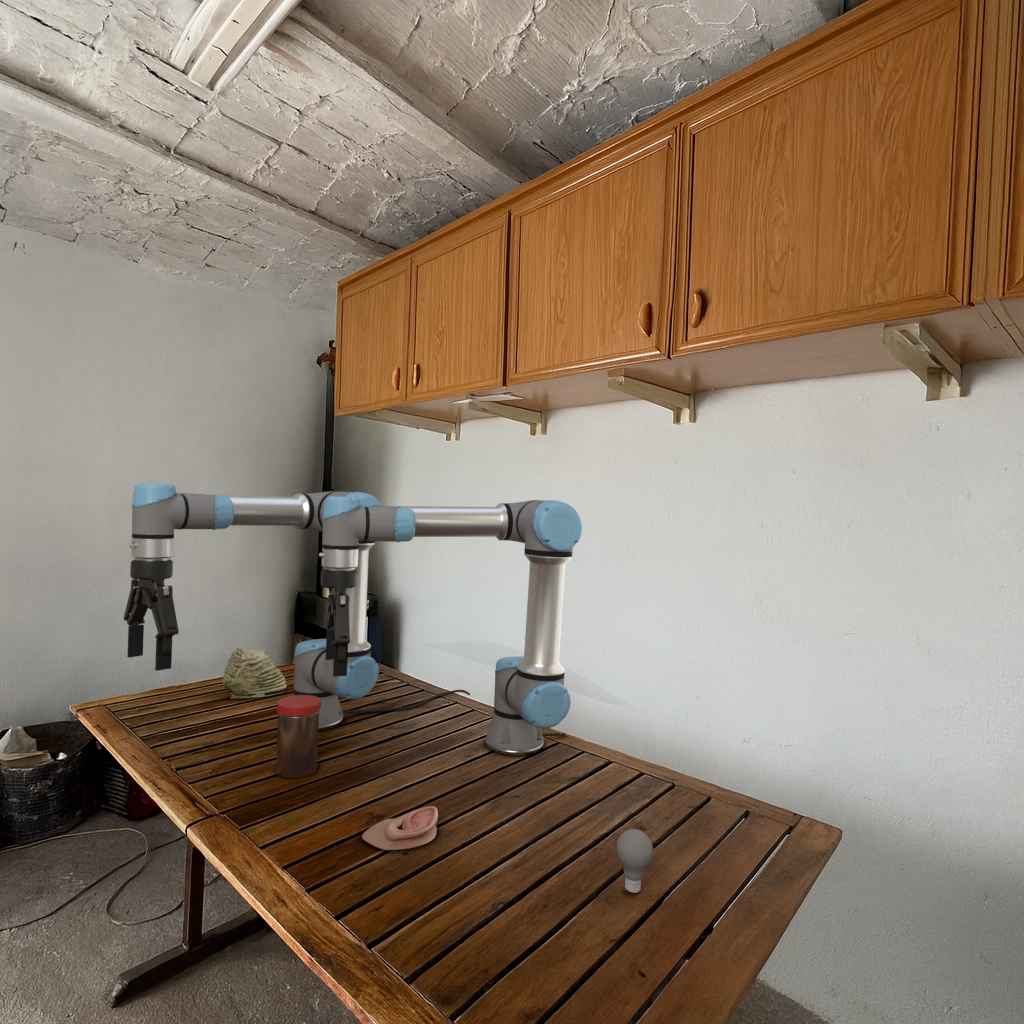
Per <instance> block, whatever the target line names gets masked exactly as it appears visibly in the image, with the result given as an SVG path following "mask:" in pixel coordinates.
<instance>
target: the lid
mask: <svg viewBox="0 0 1024 1024" xmlns="http://www.w3.org/2000/svg"><path fill="white" fill-rule="evenodd" d="M276 704H277V705H276V712H277V714H278V713H279V714H281V715H284V716H291V717H299V716H307V715H311V714H314V713H316V712H318V711H319V710H320V708H321V700H320V698H318V697H316V696H311V695H294V694H293V695H288V696H285V697H282V698H280V699H278V700H277V703H276Z"/></svg>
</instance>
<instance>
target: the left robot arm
mask: <svg viewBox="0 0 1024 1024" xmlns="http://www.w3.org/2000/svg"><path fill="white" fill-rule="evenodd" d="M330 496H337V497H357V498H359V499H360V504H361V506H364V507H370V506H372V505H380V506H383V505H382V503H381V502H380V501H379V500H378V498H377V497H375V495H373V494H370V493H367V492H363V491H362V492H361V491H337V490H336V491H335V490H333V491H332V490H330V491H321V492H311V493H295V494H294V495H293V496H276V495H275V496H274V495H273V496H272V495H248V494H247V495H246V494H244V495H243V494H220V493H219V494H218V493H217V494H216V493H215V494H214V493H189V492H187V493H186V492H177V491H176V486H175V485H174V484H173V483H152V482H139V483H137V484H136V485H135V486H134V488H133V492H132V501H131V520H132V521H131V542H130V543H128V547H129V548H130V549H131V550H130V556H131V558H133V559H132V560H131V561H130V567H129V568H130V571H129V574H130V575H129V576H130V578H131V581H130V590H129V594H128V598H127V603H126V607H125V610H124V615H123V621H124V622H126V624H127V626H128V629H127V630H128V631H127V658H135V657H142V656H144V635H145V634H144V630H145V625H144V624H145V623H146V621H145V619H144V618H145V616H146V615H147V612H148V609H149V610H151V613H152V618H153V620H154V624H155V627H156V631H157V633H156V635H155V636H154V638H155V661H154V663H155V665H154V668H155V669H154V670H155V671H157V672H159V671H164V670H169V669H172V659H173V657H172V655H173V637H175V636H176V635H179V632H180V631H179V625H178V619H177V615H176V614H177V613H176V609H175V603H174V597H173V595H174V593H173V585H165V580H167V579H171V578H172V577H173V575H174V573H173V572H174V561H173V560H172V559H171V558H173V557H174V554H175V553H174V552H175V530H213V531H215V530H224V529H228V528H230V526H233V527H234V526H237V527H238V526H240V527H243V526H246V527H247V526H249V527H250V526H258V527H259V526H268V527H269V526H276V527H277V526H282V527H284V526H285V527H286V526H287V527H288V526H289V527H290V526H291V527H293V528H294V529H296V530H308V531H309V530H310V531H316V532H319V533H323V514H324V502H325V500H326V498H328V497H330ZM375 544H376V541H359V544H358V549H359V552H358V566H357V567H356V568H355V569H356V570H357V586H356V587H354V588H347V589H346V594H347V595H349V630H350V643H348V660H347V676H336V677H333V660H326V638H317V639H308V640H304V641H300V642H299V643H297V645H296V646H295V650H294V655H293V657H294V672H293V673H294V674H293V696H294V695H311V696H316V697H318V698H320V700H321V708H320V710H319V729H318V732H325V731H329V730H332V729H335V728H337V727H339V726H340V725H342V723H343V722H344V714H362V713H363V714H365V713H381V712H382V713H383V712H392V711H400V710H407V709H408V710H409V709H413V708H417V707H419V706H422V705H423V704H426V703H428V702H430V701H432V700H434V699H436V698H439V697H441V696H446V695H451V694H455V693H464V694H466V695H467V696H471V693H470V692H469V691H467V690H464V689H455V690H449V691H446V692H441V693H437V694H435V695H432V696H431V697H428V698H426V699H424V700H422V701H420V702H418V703H414V704H411V705H405V706H397V707H388V708H377V709H376V708H375V709H374V708H373V709H346V710H343V709H342V706H341V702H340V699H339V698H341V699H342V700H343V699H344V700H348V701H349V700H350V701H357V700H360V699H362V698H364V697H365V696H367V695H368V694H370V692H371V690H372V689H374V687H375V685H376V683H377V682H378V678H379V674H380V672H379V671H380V670H379V669H380V668H379V665H378V663H377V662H376V660H375V659H374V657H371V652H372V649H371V648H372V644H371V643H370V642H368V640H367V639H366V631H367V607H368V606H367V605H368V604H367V602H368V582H369V581H368V579H369V555H370V553H369V552H370V550H371V548H372V547H374V545H375ZM342 638H344V637H342Z"/></svg>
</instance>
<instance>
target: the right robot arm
mask: <svg viewBox="0 0 1024 1024" xmlns="http://www.w3.org/2000/svg"><path fill="white" fill-rule="evenodd" d="M582 532H583V523H582V519H581V517H580V515H579V512H577V511H576V509H575V508H574V507H573V506H571V504H568V503H566V502H563V501H560V500H555V499H552V500H551V499H549V500H547V499H546V500H543V499H531V500H524V501H519V502H500V503H498V504H497V505H496V506H428V505H427V506H423V505H422V506H421V505H419V506H417V505H416V506H415V505H399V506H397V505H382V506H380V505H372V506H370V507H364V506H361V504H360V499H359V498H357V497H337V496H330V497H328V498H326V500H325V502H324V514H323V532H322V540H321V541H322V543H321V545H322V546H321V548H322V549H321V550H322V552H319V553H318V557H319V558H321V567H323V568H322V569H321V571H320V585H321V587H322V588H325V589H328V595H327V607H326V609H327V610H326V619H325V625H326V637H325V639H326V660H333V677H336V676H347V660H348V643H350V630H349V595H347V594H346V589H347V588H354V587H356V586H357V570H356V569H355V568H356V567H357V566H358V552H359V549H358V544H359V541H375V542H389V543H391V542H392V543H393V542H395V543H401V542H402V543H403V542H404V543H405V542H410V541H412V540H413V539H414V538H480V537H481V538H483V537H484V538H486V537H487V538H491V537H492V538H494V537H495V538H496V539H497V540H498V541H507V542H509V541H510V542H517V543H522V544H524V554H523V555H524V557H526V559H528V561H529V571H528V573H529V574H528V588H527V603H526V617H525V618H526V619H525V633H524V635H525V637H524V653H523V656H505V657H501V658H499V659H497V661H496V662H495V669H494V694H493V695H494V696H493V715H492V718H491V721H490V724H489V726H488V729H487V731H486V735H485V746H486V748H487V749H489V751H492V752H493V753H496V754H499V755H505V756H513V757H514V756H515V757H519V756H521V757H522V756H529V755H534V754H537V753H539V752H540V751H542V750H543V749H544V741H545V740H544V737H565V736H566V733H565V732H543V731H542V730H546V729H552V728H554V727H556V726H558V725H559V724H560V723H561V722H562V721H563V720H564V719H566V717H567V715H568V714H569V711H570V709H571V703H572V698H571V694H570V692H569V690H568V688H567V687H566V685H565V672H566V671H565V670H566V669H565V668H564V667H563V665H562V664H561V663H560V653H561V637H562V636H561V635H562V622H563V621H562V620H563V605H564V604H563V603H564V592H565V591H564V589H565V575H566V564H567V563H568V562H570V561H571V559H573V551H574V550H573V549H574V547H575V546H576V545H577V543H579V541H580V539H581V537H582ZM342 637H344V638H342ZM560 733H562V734H560Z"/></svg>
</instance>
